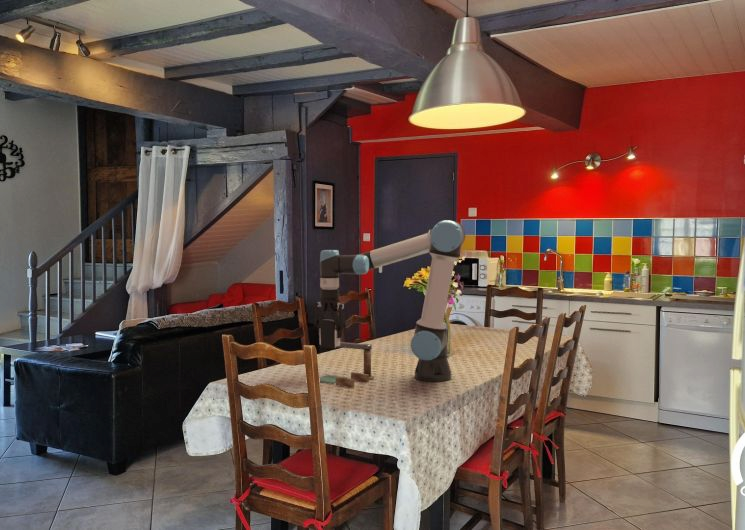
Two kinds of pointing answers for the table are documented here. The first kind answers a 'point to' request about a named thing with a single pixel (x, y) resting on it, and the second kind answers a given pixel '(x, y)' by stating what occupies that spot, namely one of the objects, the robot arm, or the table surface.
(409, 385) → the table surface
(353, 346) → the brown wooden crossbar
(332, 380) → the mat
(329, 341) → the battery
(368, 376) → the cradle
